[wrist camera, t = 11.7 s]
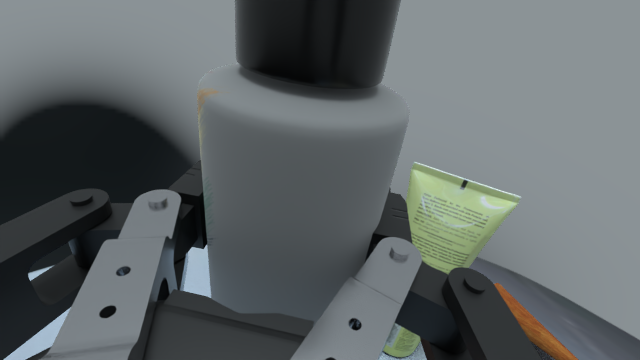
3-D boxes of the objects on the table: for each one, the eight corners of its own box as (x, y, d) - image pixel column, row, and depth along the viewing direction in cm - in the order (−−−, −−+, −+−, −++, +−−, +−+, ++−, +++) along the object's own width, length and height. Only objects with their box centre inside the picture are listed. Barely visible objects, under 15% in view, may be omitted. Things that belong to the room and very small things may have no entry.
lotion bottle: (351, 392, 16) (553, -147, 6) (250, 477, 13) (290, -432, 2) (292, 309, 20) (348, -110, 9) (201, 359, 16) (135, -201, 6)
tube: (407, 309, 35) (473, 159, 25) (432, 353, 31) (523, 195, 21) (361, 317, 33) (413, 161, 23) (381, 365, 29) (454, 201, 19)
